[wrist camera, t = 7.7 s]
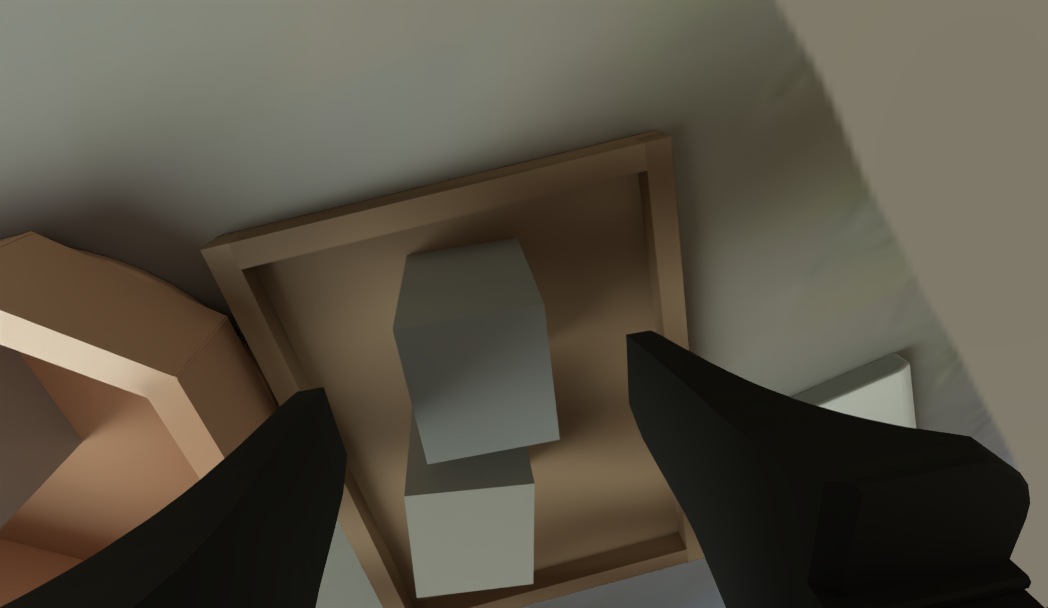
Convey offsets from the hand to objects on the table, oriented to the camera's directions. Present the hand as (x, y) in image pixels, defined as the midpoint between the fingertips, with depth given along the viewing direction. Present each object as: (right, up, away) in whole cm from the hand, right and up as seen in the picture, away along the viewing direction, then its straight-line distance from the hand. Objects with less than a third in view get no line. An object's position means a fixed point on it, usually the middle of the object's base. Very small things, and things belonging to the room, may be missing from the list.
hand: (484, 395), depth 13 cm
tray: (0, -2, +7) cm, 8 cm away
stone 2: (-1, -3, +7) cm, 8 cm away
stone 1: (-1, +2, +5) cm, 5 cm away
